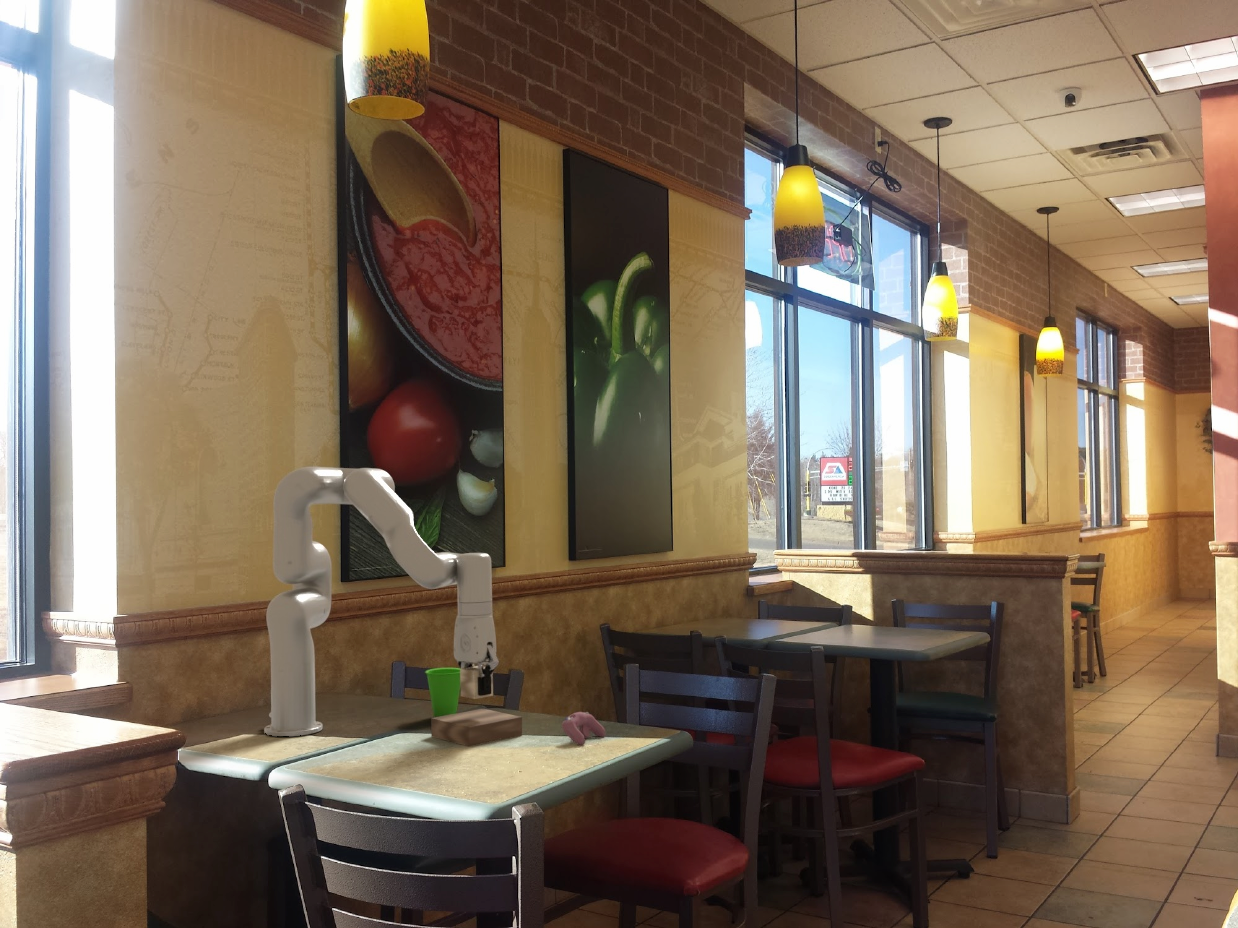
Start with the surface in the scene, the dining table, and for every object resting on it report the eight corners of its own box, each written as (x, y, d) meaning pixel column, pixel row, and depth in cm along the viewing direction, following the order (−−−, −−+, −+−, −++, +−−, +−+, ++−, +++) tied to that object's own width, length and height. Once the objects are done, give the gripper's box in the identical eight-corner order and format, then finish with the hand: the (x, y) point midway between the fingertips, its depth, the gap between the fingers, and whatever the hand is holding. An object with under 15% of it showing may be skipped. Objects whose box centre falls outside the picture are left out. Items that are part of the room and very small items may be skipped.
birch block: (460, 696, 241) (460, 668, 241) (479, 692, 244) (478, 665, 244) (474, 698, 237) (473, 670, 237) (493, 695, 241) (492, 667, 241)
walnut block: (431, 736, 241) (431, 717, 241) (483, 726, 250) (483, 708, 250) (469, 746, 231) (469, 727, 231) (522, 735, 240) (521, 716, 240)
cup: (457, 721, 256) (457, 673, 256) (420, 720, 257) (419, 673, 258) (469, 713, 265) (468, 667, 265) (432, 713, 266) (432, 667, 267)
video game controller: (592, 742, 240) (579, 712, 241) (608, 734, 238) (595, 704, 239) (568, 751, 231) (555, 720, 233) (584, 744, 229) (571, 712, 231)
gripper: (438, 608, 245) (440, 691, 244) (484, 613, 232) (486, 700, 232) (466, 605, 250) (467, 686, 249) (512, 610, 238) (514, 695, 237)
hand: (476, 692), depth 241 cm, fingers closed on birch block, 4 cm apart
